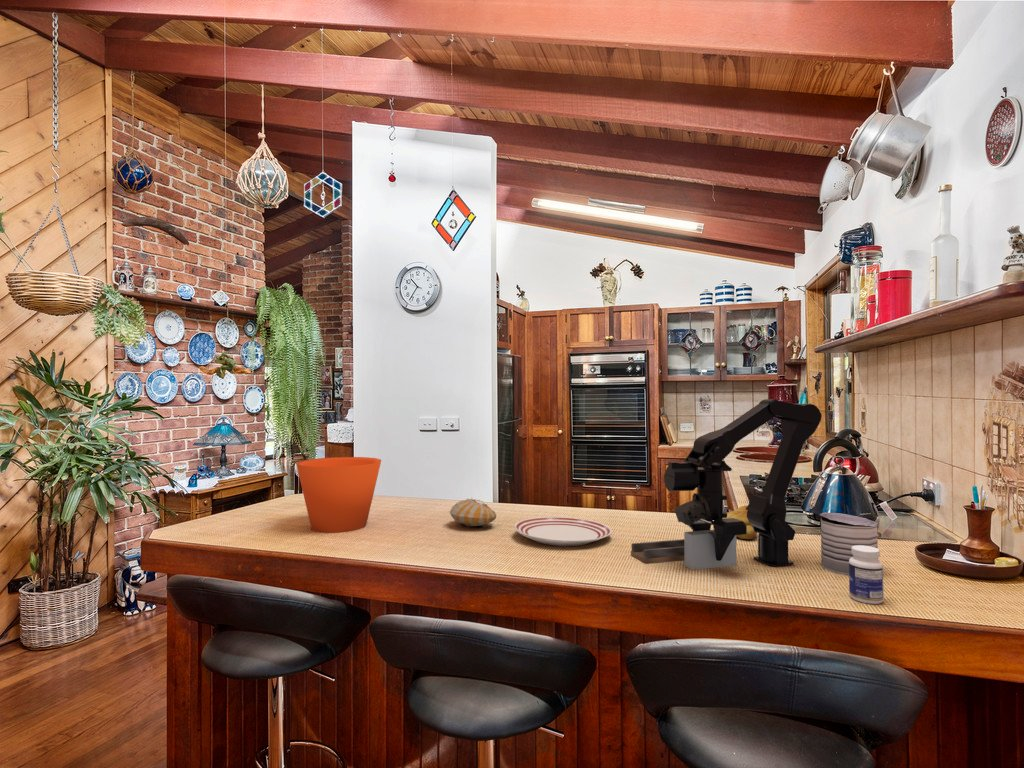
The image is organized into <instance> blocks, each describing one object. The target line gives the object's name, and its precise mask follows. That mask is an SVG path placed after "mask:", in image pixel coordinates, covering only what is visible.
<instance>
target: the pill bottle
mask: <svg viewBox="0 0 1024 768" xmlns="http://www.w3.org/2000/svg"><path fill="white" fill-rule="evenodd" d="M880 552H881V551H880V549H879V548H878V549H877V548H875V547H871V546H864V545H856V546H852V548H851V553H852V554H853V557H851V558H850V559H849V575H848V584H849V585H848V587H849V588H848V589H849V590H848V591H849V593H848V594H849V597H850V598H851V599H853V600H855V601H857V602H859V603H860V602H861V603H864V604H869V605H877V604H881V603H884V600H885V593H884V587H885V586H884V585H885V584H884V565H883V563H882V562H881V561H880V560H879V558H880V556H881V553H880Z"/></svg>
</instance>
